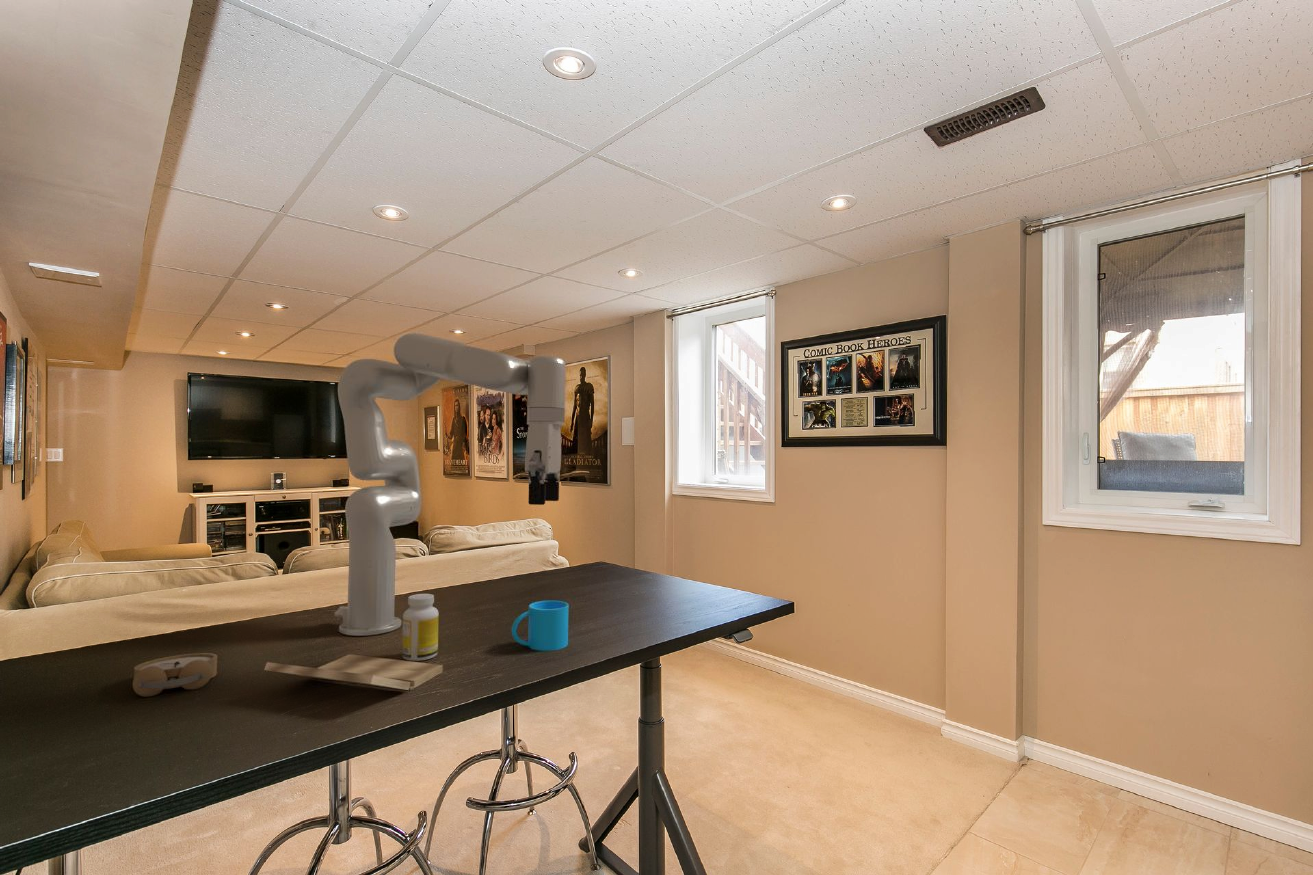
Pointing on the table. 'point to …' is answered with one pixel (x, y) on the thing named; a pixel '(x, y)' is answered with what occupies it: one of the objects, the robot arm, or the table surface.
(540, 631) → the mug
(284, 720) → the table surface
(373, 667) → the floor row
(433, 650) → the pill bottle
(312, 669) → the plank
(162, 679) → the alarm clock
